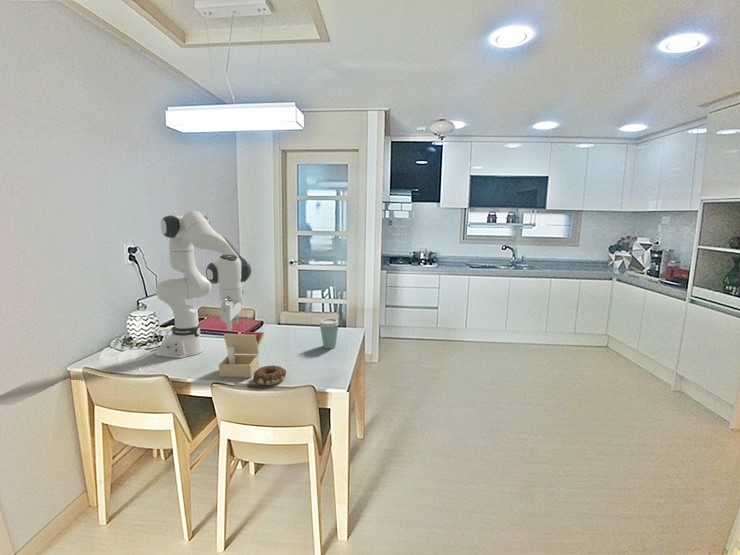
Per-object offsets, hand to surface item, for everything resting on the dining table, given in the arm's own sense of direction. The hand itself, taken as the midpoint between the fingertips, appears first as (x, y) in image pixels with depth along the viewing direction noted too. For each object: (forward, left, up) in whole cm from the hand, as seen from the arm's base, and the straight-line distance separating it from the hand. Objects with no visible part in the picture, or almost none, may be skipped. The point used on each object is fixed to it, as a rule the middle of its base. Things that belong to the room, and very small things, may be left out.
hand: (232, 326), depth 164 cm
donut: (+14, +5, -26) cm, 30 cm away
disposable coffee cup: (+35, +48, -26) cm, 65 cm away
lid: (-2, +16, -14) cm, 21 cm away
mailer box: (-2, +12, -26) cm, 28 cm away
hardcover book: (-9, +49, -26) cm, 56 cm away
